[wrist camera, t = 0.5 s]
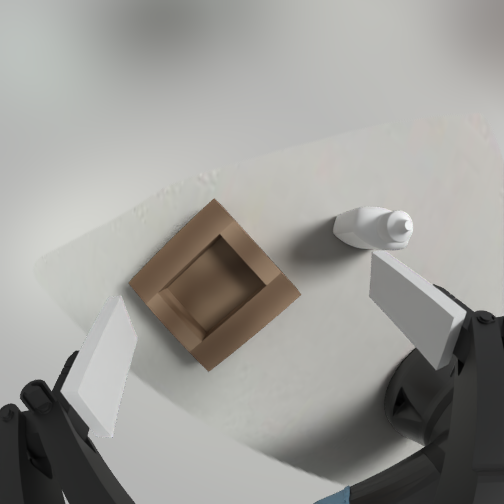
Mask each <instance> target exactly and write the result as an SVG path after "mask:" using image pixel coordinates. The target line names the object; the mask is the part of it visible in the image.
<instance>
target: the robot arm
mask: <svg viewBox="0 0 504 504" xmlns="http://www.w3.org/2000/svg"><path fill="white" fill-rule="evenodd" d="M369 297H370V298H371V299H372V300H373V301H374V302H375V303H376V304H377V305H378V306H379V307H380V308H381V310H382V311H383V312H384V313H385V314H386V315H387V316H388V317H389V318H390V319H391V320H392V321H393V322H394V323H395V325H396V326H397V327H398V328H399V329H400V330H401V331H402V332H403V333H404V334H405V336H406V337H407V338H408V339H409V340H410V341H411V342H412V343H413V344H414V346H415V347H416V349H415V350H414V351H413V352H412V353H411V354H410V355H409V356H408V357H407V358H406V359H405V360H404V361H403V362H402V364H401V365H400V366H399V368H398V369H397V371H396V372H395V374H394V376H393V378H392V379H391V382H390V384H389V386H388V389H387V392H386V397H385V413H386V416H387V418H388V420H389V421H390V423H391V424H392V426H393V427H394V429H395V430H396V431H397V432H398V433H400V434H401V435H403V436H405V437H407V438H409V439H411V440H413V441H415V442H417V443H419V444H421V445H423V446H425V447H424V448H422V449H421V450H419V451H417V452H416V453H414V454H412V455H411V456H409V457H407V458H406V459H404V460H402V461H400V462H399V463H397V464H395V465H393V466H392V467H390V468H388V469H386V470H384V471H382V472H380V473H378V474H376V475H374V476H372V477H370V478H368V479H366V480H364V481H362V482H360V483H357V484H355V485H353V486H347V487H345V488H344V490H342V491H339V492H338V493H335V494H333V495H331V496H328V497H326V498H324V499H321V500H319V501H317V502H315V503H314V504H504V316H502V317H495V316H494V315H493V314H491V313H489V312H487V311H476V312H473V311H472V310H471V309H470V308H468V307H467V306H466V305H465V304H463V303H462V302H461V301H459V300H458V299H456V298H455V297H454V296H453V295H452V294H451V295H450V293H449V292H448V291H446V290H445V289H444V288H442V287H439V286H437V285H435V284H433V285H432V284H431V283H429V282H428V281H427V280H425V279H424V278H423V277H421V276H420V275H418V274H417V273H416V272H414V271H413V270H412V269H410V268H409V267H407V266H406V265H405V264H403V263H402V262H400V261H399V260H398V259H396V258H395V257H393V256H392V255H390V254H389V253H388V252H386V251H385V250H380V251H375V252H372V261H371V278H370V292H369ZM137 340H138V337H137V335H136V332H135V330H134V327H133V325H132V322H131V320H130V317H129V314H128V312H127V309H126V306H125V304H124V301H123V298H122V295H120V296H113V297H108V299H107V301H106V302H105V304H104V306H103V308H102V310H101V311H100V313H99V315H98V317H97V319H96V320H95V322H94V324H93V326H92V328H91V330H90V332H89V333H88V335H87V337H86V339H85V341H84V343H83V345H82V347H81V349H80V351H75V352H74V353H73V354H72V355H71V356H70V357H69V358H68V359H67V361H66V363H65V365H64V368H63V369H62V371H61V374H60V375H59V377H58V379H57V382H56V384H55V386H54V388H53V390H52V391H51V390H50V389H49V387H48V386H47V384H46V383H45V381H43V380H34V381H31V382H30V383H28V384H27V385H26V386H25V387H24V388H23V389H22V391H21V394H20V399H21V400H22V402H23V403H24V404H25V406H26V407H27V408H28V409H29V411H24V412H21V411H20V410H19V408H18V407H17V406H16V405H15V404H7V405H5V406H3V407H2V408H1V409H0V504H65V500H64V497H63V493H62V491H63V492H64V494H65V497H66V498H67V500H68V502H69V504H135V503H134V501H133V500H132V499H131V497H130V496H129V495H128V494H127V492H126V491H125V490H124V488H123V487H122V486H121V484H120V483H119V482H118V480H117V479H116V478H115V476H114V475H113V473H112V472H111V470H110V469H109V468H108V466H107V465H106V463H105V462H104V460H103V459H102V457H101V455H100V454H99V452H98V451H97V449H96V447H95V446H94V444H93V443H92V441H91V440H90V438H89V437H88V436H87V435H88V431H89V429H90V430H91V431H92V432H93V433H94V434H95V436H96V437H106V438H113V433H114V428H115V424H116V420H117V415H118V411H119V407H120V403H121V399H122V395H123V390H124V386H125V383H126V379H127V375H128V372H129V368H130V364H131V361H132V357H133V354H134V350H135V347H136V344H137Z"/></svg>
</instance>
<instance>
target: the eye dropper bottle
mask: <svg viewBox="0 0 504 504" xmlns="http://www.w3.org/2000/svg"><path fill="white" fill-rule="evenodd" d="M412 231H413V223H412V220H411V218H410V217H409V215H408V214H407V213H406V212H403V211H400V210H397V211H391V210H388V209H385V208H382V207H374V206H367V207H359V208H356V209H353V210H350V211H347V212H345V213H342V214H339V215H338V216H337V217H336V220H335V224H334V227H333V233H334V235H335V236H336V237H337V238H339V239H340V240H341V241H343V242H344V243H346V244H348V245H351V246H353V247H357V248H362V249H376V250H400V249H403V248H405V247H406V246H407V244H408V241H409V238H410V236H411V234H412Z"/></svg>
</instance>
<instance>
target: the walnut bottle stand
mask: <svg viewBox="0 0 504 504" xmlns="http://www.w3.org/2000/svg"><path fill="white" fill-rule="evenodd" d="M129 284H130V286H131V287H132V288H133V289H134V291H135V292H136V293H137V294H138V295H139V297H140V298H141V299H142V300H143V301H144V303H145V304H146V305H147V306H148V307H149V308H150V310H151V311H152V312H153V313H154V314H155V315H156V317H157V318H158V319H159V320H160V321H161V322H162V323H163V324H164V326H165V327H166V328H167V329H168V330H169V331H170V332H171V333H172V334H173V335H174V337H175V338H176V339H177V340H178V341H179V342H180V343H181V344H182V345H183V346H184V347H185V348H186V349H187V350H188V351H189V352H190V353H191V354H192V355H193V357H194V358H195V359H196V360H197V361H198V362H199V363H200V364H201V365H202V366H203V367H204V368H205V369H206V370H207V371H208V372H209V371H210V370H212V369H213V368H214V367H215V366H217V365H218V364H219V363H221V362H222V361H223V360H224V359H226V358H227V357H228V356H229V355H231V354H232V353H233V352H234V351H236V350H237V349H238V348H239V347H241V346H242V345H243V344H244V343H245V342H247V341H248V340H249V339H250V338H252V337H253V336H254V335H255V334H256V333H258V332H259V331H260V330H261V329H262V328H264V327H265V326H266V325H267V324H268V323H269V322H271V321H272V320H273V319H274V318H275V317H276V316H278V315H279V314H280V313H281V312H282V311H283V310H285V309H286V308H287V307H288V306H289V305H290V304H291V303H292V302H294V301H295V300H296V299H297V298H298V297H299V296H300V295H301V294H300V292H299V291H298V289H297V288H296V287H295V286H294V285H293V284H292V282H291V281H290V280H289V279H288V278H287V277H286V276H285V275H284V274H283V272H282V271H281V270H280V269H279V268H278V267H277V266H276V265H275V264H274V263H273V261H272V260H271V259H270V258H269V257H268V256H267V255H266V254H265V253H264V251H263V250H262V249H261V248H260V247H259V246H258V245H257V244H256V243H255V242H254V240H253V239H252V238H251V237H250V236H249V235H248V234H247V233H246V232H245V231H244V229H243V228H242V227H241V226H240V225H239V224H238V223H237V222H236V221H235V220H234V218H233V217H232V216H231V215H230V214H229V213H228V212H227V211H226V210H225V209H224V207H223V206H222V205H221V204H220V203H219V202H218V201H216V200H215V199H213V200H212V201H211V202H210V203H208V204H207V205H206V206H205V207H204V208H203V209H202V210H201V211H200V212H199V213H198V214H197V215H196V216H195V217H194V218H193V219H191V220H190V221H189V222H188V223H187V224H186V225H185V226H184V227H183V228H182V229H181V230H180V231H179V232H178V233H177V234H176V235H175V236H174V237H173V238H172V239H171V240H170V241H169V242H168V243H167V244H166V245H165V246H164V247H163V248H162V249H161V250H160V251H159V252H158V253H157V254H156V255H155V256H154V257H153V258H152V259H151V260H150V261H149V262H148V263H147V264H146V265H145V266H144V267H143V268H142V269H141V270H140V271H139V272H138V273H137V274H136V275H135V276H134V277H133V278H132V280H131V281H130V282H129Z"/></svg>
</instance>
